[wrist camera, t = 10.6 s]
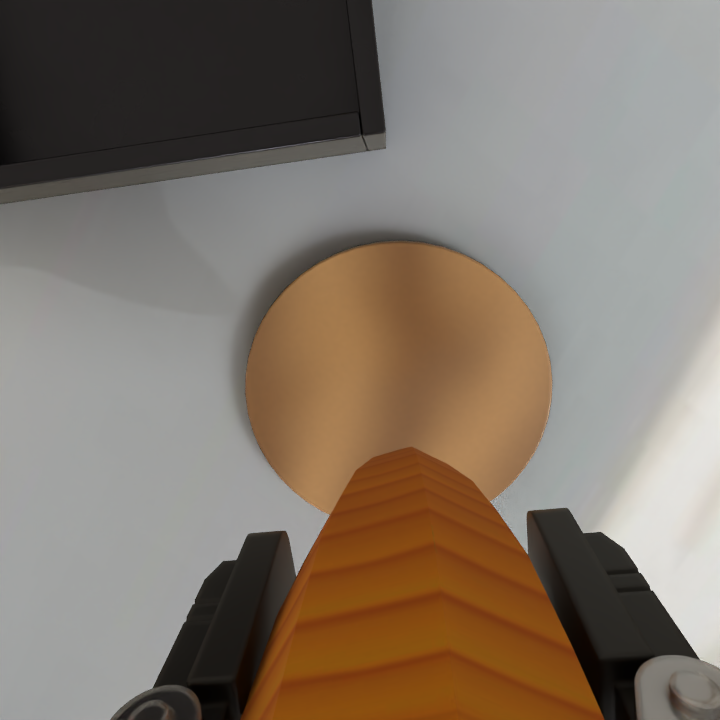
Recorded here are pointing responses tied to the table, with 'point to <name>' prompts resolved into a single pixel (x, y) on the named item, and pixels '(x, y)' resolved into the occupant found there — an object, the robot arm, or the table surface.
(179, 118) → the tray
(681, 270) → the table surface
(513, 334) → the disc
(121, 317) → the table surface
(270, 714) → the carrot
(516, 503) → the table surface
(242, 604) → the robot arm
